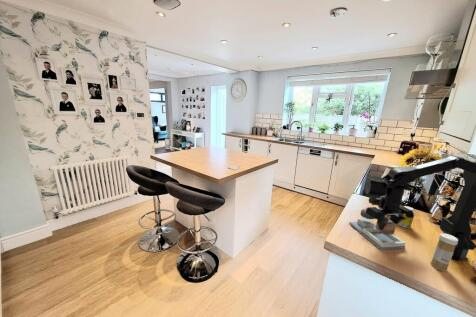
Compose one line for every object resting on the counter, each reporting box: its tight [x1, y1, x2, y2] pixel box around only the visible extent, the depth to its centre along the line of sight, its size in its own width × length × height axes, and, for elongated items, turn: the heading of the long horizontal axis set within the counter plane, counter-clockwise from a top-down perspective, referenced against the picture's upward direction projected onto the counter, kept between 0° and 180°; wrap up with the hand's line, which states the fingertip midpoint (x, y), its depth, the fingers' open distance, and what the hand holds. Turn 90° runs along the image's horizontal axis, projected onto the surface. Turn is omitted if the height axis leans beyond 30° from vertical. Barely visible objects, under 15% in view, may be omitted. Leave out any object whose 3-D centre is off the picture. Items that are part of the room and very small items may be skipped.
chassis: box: [348, 217, 406, 251], centre depth 90 cm, size 19×12×4 cm, turn 8°
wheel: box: [360, 208, 376, 220], centre depth 95 cm, size 6×6×2 cm
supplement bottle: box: [397, 205, 416, 229], centre depth 99 cm, size 6×6×10 cm
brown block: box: [375, 217, 398, 235], centre depth 85 cm, size 5×4×6 cm
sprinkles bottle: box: [430, 232, 458, 272], centre depth 71 cm, size 5×5×14 cm
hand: (385, 229), depth 85 cm, fingers closed on brown block, 4 cm apart
